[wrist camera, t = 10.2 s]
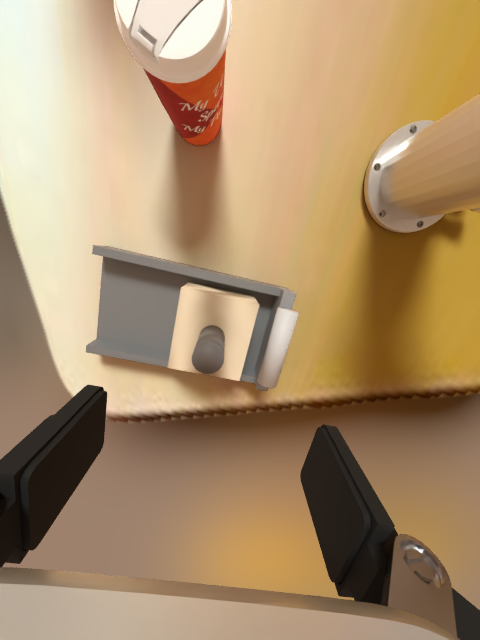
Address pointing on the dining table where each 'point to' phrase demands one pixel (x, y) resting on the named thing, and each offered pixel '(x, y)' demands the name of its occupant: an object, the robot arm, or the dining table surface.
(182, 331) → the beige block with peg
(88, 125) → the dining table surface
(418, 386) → the dining table surface
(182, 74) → the paper cup
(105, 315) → the bay
